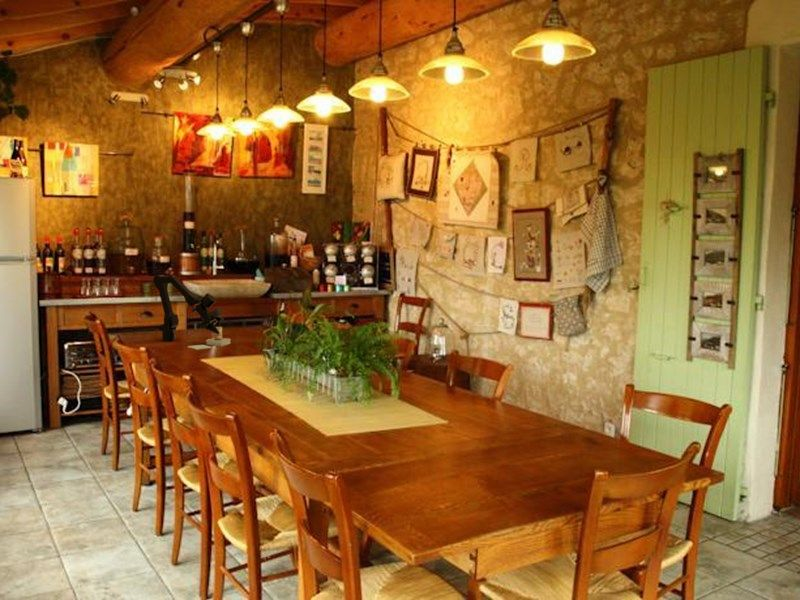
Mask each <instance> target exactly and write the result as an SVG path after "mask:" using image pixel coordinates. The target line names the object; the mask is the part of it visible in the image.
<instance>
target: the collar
mask: <svg viewBox="0 0 800 600" xmlns="http://www.w3.org/2000/svg"><path fill="white" fill-rule="evenodd" d="M230 344H231V338H227V337H225V338H224V337H222V340H215V337H212V338H209V339H206V344H205V345H206V346H216V347H225V346H228V345H230Z"/></svg>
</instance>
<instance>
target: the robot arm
mask: <svg viewBox="0 0 800 600" xmlns="http://www.w3.org/2000/svg"><path fill="white" fill-rule="evenodd" d="M152 282H153V285H154V287H155V289H156V290H157V291H158V293H159V298H160V301H161V305H162V309H163V313H164V316H163V324H162V325H161V326H160V327H159V329H160V331H161V332H162V333H161V336H162V338H161V341H162V342H173V341H175V340H176V332H175V330H176V329H177V327H178V326H179V321H180V319H179V316H178V314H176V313H175V312H174V311H173V307H172V303H171V300H170V296H169V292H168V286H169V283H170V284H171V285H172V286H173V287H174V288H175V289H176V290H177V291H178V292H179V293H180V294H181V295H182V296H183V298H184V301H185V302H186V304H187V305H188V306H189V307H192V310H191V311H192V313H196V314H198V316H199V318H200V320H202V322H200V323H199V328H200V329H201V330H203V329H205V330H208V331H210V332H213V333H214V334H215V333H216V334H219V331H218V330H217V328H216V327H222V326H221V323H222V321H224V320H225V318H224V317H223V316H221V315H222V310H221V309H220V307H219V308H218V307H217V308H215V309H214V310H213V311H212V310H209V309H210V308H211V307H212V306H213V305H214V304H215V303H216V302H217V300H216V298H215V297H214V296H213V295H211V294H210V293H206V294H205V295H204V296H203V297H200V296H199V295H197V293H194V292H192V291H191V290H189V288H187V286H185V284H184V283H182V281H180V279H179V277H177V276H176V275H172V276H171V275H170V276H169V275H168V276H166V275H165V274H158V275H155V276H154V277H153V278H152ZM219 315H220V316H219ZM205 326H206V327H205ZM223 333H224V331H223V329H222V334H223Z"/></svg>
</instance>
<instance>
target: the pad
mask: <svg viewBox="0 0 800 600" xmlns="http://www.w3.org/2000/svg"><path fill="white" fill-rule="evenodd" d="M186 348H189V349H193V350H197V351H198V350H206V349H213V346H211V345H206V344H197V345H196V344H195V345H188V346H187V347H186Z"/></svg>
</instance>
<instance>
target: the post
mask: <svg viewBox="0 0 800 600" xmlns="http://www.w3.org/2000/svg"><path fill="white" fill-rule="evenodd" d="M216 328H217V330H218V331H219V334H216V333H214V338H215V340H222V338H223V333H222V330H223V326H221V327H216Z"/></svg>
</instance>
